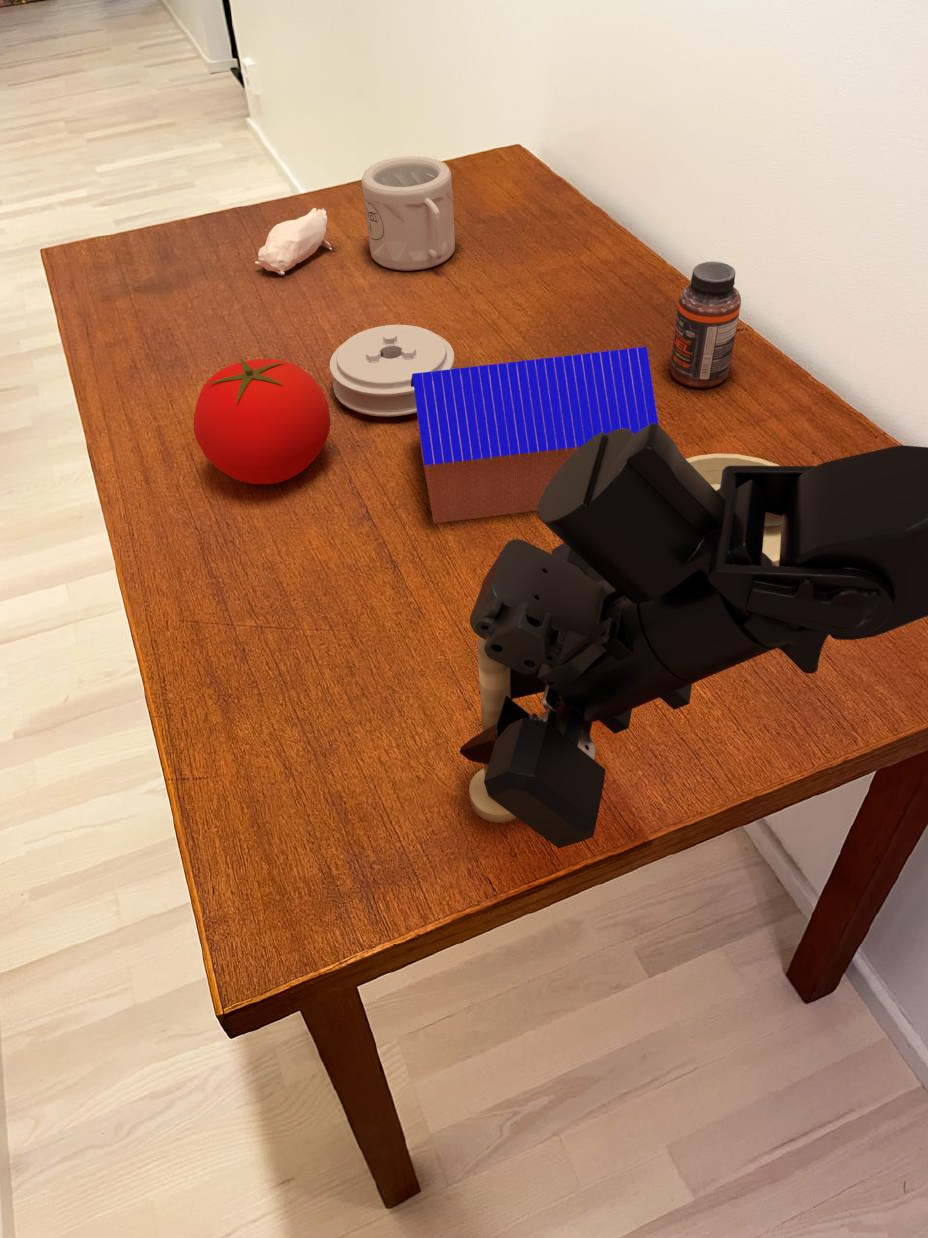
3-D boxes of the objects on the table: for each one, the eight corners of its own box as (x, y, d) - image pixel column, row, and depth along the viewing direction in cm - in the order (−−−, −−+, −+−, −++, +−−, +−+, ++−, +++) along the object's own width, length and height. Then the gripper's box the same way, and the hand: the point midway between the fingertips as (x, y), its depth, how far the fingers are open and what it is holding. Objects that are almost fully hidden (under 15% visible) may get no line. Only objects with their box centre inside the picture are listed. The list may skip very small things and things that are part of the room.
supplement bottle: (657, 368, 100) (669, 264, 92) (705, 353, 101) (721, 250, 93) (690, 396, 96) (705, 290, 88) (740, 380, 98) (759, 275, 90)
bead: (798, 528, 81) (807, 495, 78) (762, 541, 80) (770, 507, 77) (772, 504, 83) (780, 471, 80) (737, 516, 82) (744, 483, 80)
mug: (357, 247, 123) (346, 166, 116) (431, 226, 126) (426, 147, 119) (402, 289, 115) (394, 206, 107) (481, 266, 118) (478, 183, 110)
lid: (312, 409, 98) (303, 365, 94) (371, 347, 106) (366, 305, 102) (422, 435, 94) (418, 391, 90) (475, 369, 101) (473, 326, 98)
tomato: (187, 470, 92) (156, 374, 84) (289, 415, 97) (268, 320, 90) (256, 522, 86) (230, 423, 78) (360, 460, 91) (345, 362, 84)
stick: (539, 809, 64) (541, 648, 52) (484, 831, 63) (474, 672, 51) (513, 764, 66) (510, 601, 55) (460, 785, 65) (446, 623, 54)
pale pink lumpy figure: (300, 252, 126) (248, 265, 118) (307, 199, 122) (254, 209, 114) (329, 267, 124) (279, 281, 117) (338, 214, 120) (286, 225, 113)
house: (652, 498, 85) (666, 384, 77) (430, 526, 84) (419, 413, 76) (619, 422, 94) (628, 311, 85) (416, 446, 92) (405, 337, 84)
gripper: (599, 420, 52) (422, 544, 63) (526, 674, 40) (321, 777, 50) (725, 548, 56) (539, 644, 67) (694, 815, 44) (472, 883, 54)
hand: (474, 724), depth 59 cm, fingers open, 4 cm apart
